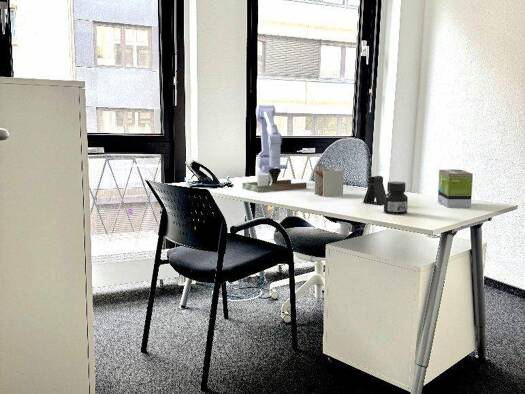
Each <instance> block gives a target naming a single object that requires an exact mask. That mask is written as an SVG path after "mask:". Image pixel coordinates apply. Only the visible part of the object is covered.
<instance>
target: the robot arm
mask: <svg viewBox="0 0 525 394" xmlns="http://www.w3.org/2000/svg"><path fill="white" fill-rule="evenodd" d="M255 115H256V121H257V122H259V125H260V141H261V151H260V152H259V153H258V154H257V157H256V159H257V160H256V165H257V167H258V169H257V173H256V174H261V173H265V174H270V176H271V177H272V181H273V183H277V180H278V179H279V176H280V173H281V172H282V169H283V170H284V169H285V170H287V169H288V165H287V164H281V145H282V142H283V137H282V134H281V132H279V128H278V125H277V124H275V122H274V117H275V115H276V106H275V105H274V104H268V105H267V104H257V105H256V108H255ZM270 176H269V181H271V179H270Z"/></svg>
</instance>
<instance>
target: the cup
mask: <svg viewBox="0 0 525 394" xmlns="http://www.w3.org/2000/svg"><path fill="white" fill-rule="evenodd" d="M255 176H256V182H257V183H258V186H265V185H268V183H269V176H270V174H265V173H261V174H257V173H256V174H255ZM270 179H271V183H270V185H271V184H272V177H271V176H270Z"/></svg>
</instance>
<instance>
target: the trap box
mask: <svg viewBox="0 0 525 394" xmlns="http://www.w3.org/2000/svg"><path fill="white" fill-rule="evenodd" d="M270 183H271V181H269V183H268V185H265V186H258V183H257V181H252V182H251V181H250V182H242V189H243V190H247V191H250V192H255V193H265V192H278V191H279V192H280V191H290V190H301V189H302V190H304V189H307V188H308V187H307V183H308V182H296V183H292V179H281V180H280V179H279V180H278V179H277V183H273V181H272V184H271V185H270Z"/></svg>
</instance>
